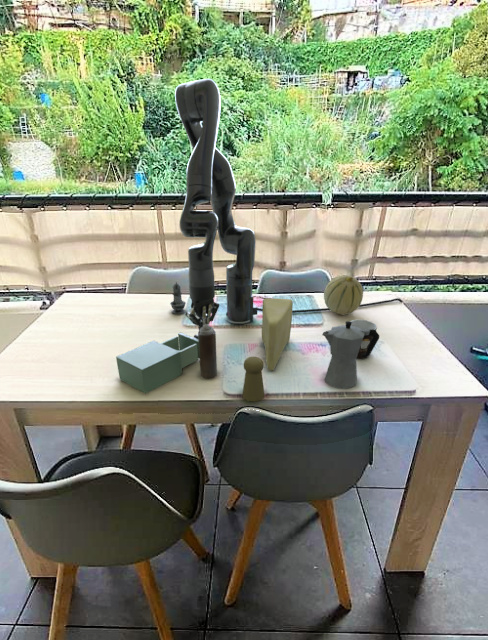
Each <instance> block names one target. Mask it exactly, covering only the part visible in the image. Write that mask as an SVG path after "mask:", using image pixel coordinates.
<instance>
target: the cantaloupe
mask: <svg viewBox="0 0 488 640" xmlns="http://www.w3.org/2000/svg"><path fill="white" fill-rule="evenodd" d="M363 298H364V288H363V286H362V283H361V282H360V281H359V280H358V279H357V278H355V277H354V276H352V275H348V274H342V275H337V276H334V277H333V278H332V279H330V281H329V282H328V283H327V284H326V286H325V288H324V292H323V301H324V304H325V305H326V308H329V309H330V310H329V311H331V312H332V313H334V314H337V315H341V316H343V315H349V314H352V313H353V312H355V311H356V310H357V309H358V308H360V307H359V306H360V305H361V304H362V301H363Z"/></svg>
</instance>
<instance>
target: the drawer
mask: <svg viewBox="0 0 488 640" xmlns="http://www.w3.org/2000/svg"><path fill="white" fill-rule="evenodd" d="M160 343H161V344H163V345H166V346H168V347H170V348H172V349H175V350H177V351H179V352H180V357H181V368H182V369H183V368H185V367H187V366H188V365H191V364H193V363H195V362H196V361H198V360H200V357H199V340H198V334H194V335H193V336H191V335H188V334H187V333H183V332H179V333H178V334H177V335H176V336H173V337H171V338H168V339H166V340H164V341H162V342H160Z"/></svg>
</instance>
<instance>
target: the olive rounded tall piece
mask: <svg viewBox="0 0 488 640" xmlns="http://www.w3.org/2000/svg"><path fill="white" fill-rule="evenodd" d="M264 367H265V363H264V360H263V358H261V357H258V356H249V357H247V358H245V360H244V361H243V369H244V371H245V374H244V379H243V387H242V394H241V397H242V398H243V400H245V401H248V402H254V403H255V402H259V401H262V400H263V399H264V398H265V387H264V380H263V370H264Z"/></svg>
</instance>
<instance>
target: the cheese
mask: <svg viewBox="0 0 488 640" xmlns="http://www.w3.org/2000/svg"><path fill="white" fill-rule="evenodd" d="M293 304H294V302H293V300H292V299H290V298H275V297H274V298H273V297H267V298H266V297H265V298H263V299H262V308H261V309H262V311H261V312H262V313H261V314H262V315H261V316H262V317H261V318H262V319H261V340H262V342H263V346H264V349H265V361H266V362H265V363H266V367H267V370H268V371H274V370H275V368H276V367H277V364H278V362H279V359H280V357H281V355H282V353H283V352H284V350H285V348H286V346H287V344H288V343H289V341H290V339H291V332H292V331H291V330H292V322H293V313H292V311H293Z"/></svg>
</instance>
